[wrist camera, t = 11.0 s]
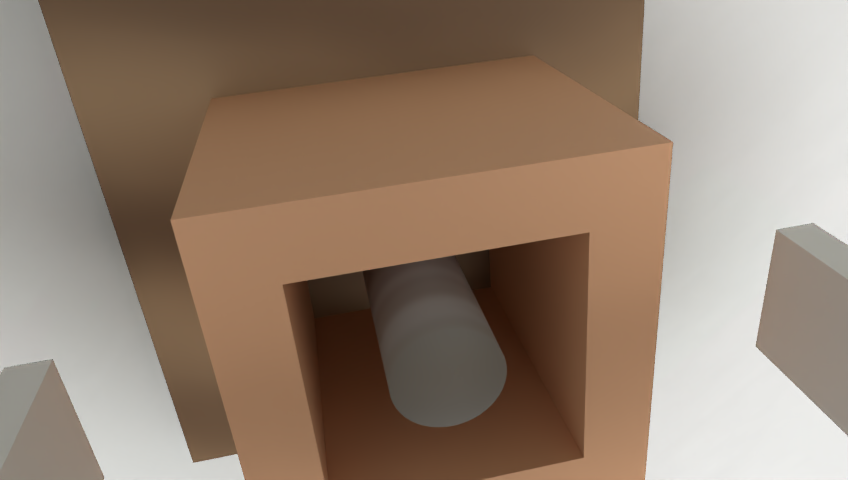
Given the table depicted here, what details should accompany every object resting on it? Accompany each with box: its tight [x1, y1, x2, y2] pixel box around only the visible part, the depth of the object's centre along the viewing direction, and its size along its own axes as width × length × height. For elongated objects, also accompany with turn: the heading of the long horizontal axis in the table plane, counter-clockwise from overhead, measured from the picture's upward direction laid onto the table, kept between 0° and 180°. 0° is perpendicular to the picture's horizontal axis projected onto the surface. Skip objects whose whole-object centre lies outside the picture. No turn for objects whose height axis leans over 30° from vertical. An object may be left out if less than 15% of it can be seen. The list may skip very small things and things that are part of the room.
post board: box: [38, 0, 644, 463], centre depth 16 cm, size 14×14×8 cm
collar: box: [170, 55, 673, 480], centre depth 16 cm, size 8×8×7 cm
